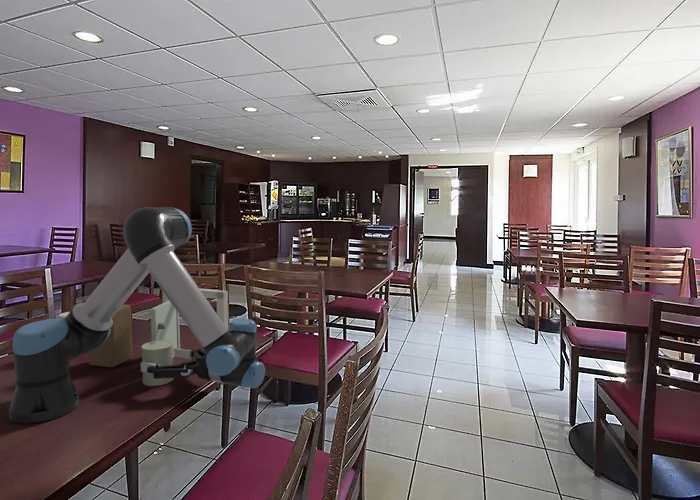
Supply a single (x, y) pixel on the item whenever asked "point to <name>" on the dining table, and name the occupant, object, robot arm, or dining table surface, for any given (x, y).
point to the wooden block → (115, 341)
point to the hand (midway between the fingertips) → (158, 358)
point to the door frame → (221, 305)
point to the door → (165, 323)
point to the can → (157, 359)
